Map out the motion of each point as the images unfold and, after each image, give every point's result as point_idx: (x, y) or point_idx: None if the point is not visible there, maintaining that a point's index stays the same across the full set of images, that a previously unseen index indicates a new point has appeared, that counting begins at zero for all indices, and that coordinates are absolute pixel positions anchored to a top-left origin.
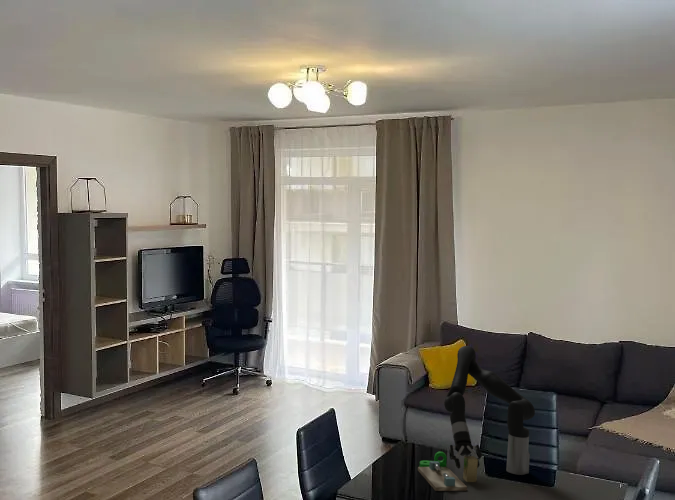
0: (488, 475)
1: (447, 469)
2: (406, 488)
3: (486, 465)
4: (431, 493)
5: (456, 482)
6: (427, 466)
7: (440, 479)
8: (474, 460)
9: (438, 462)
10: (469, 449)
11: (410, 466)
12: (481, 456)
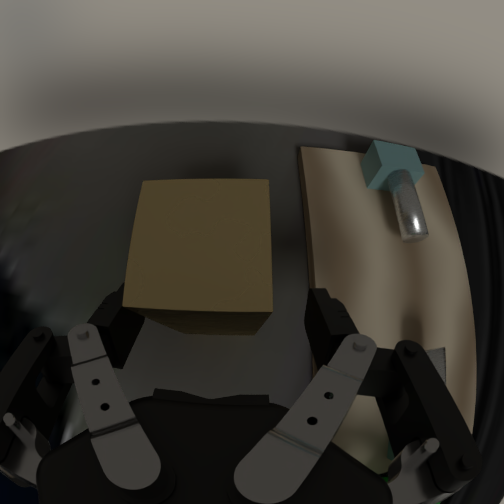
0: None
1: (335, 438)
2: (498, 213)
3: None
4: (436, 160)
5: (344, 202)
6: None
7: (419, 251)
8: (185, 185)
9: None
10: (125, 421)
11: None
12: (35, 330)
